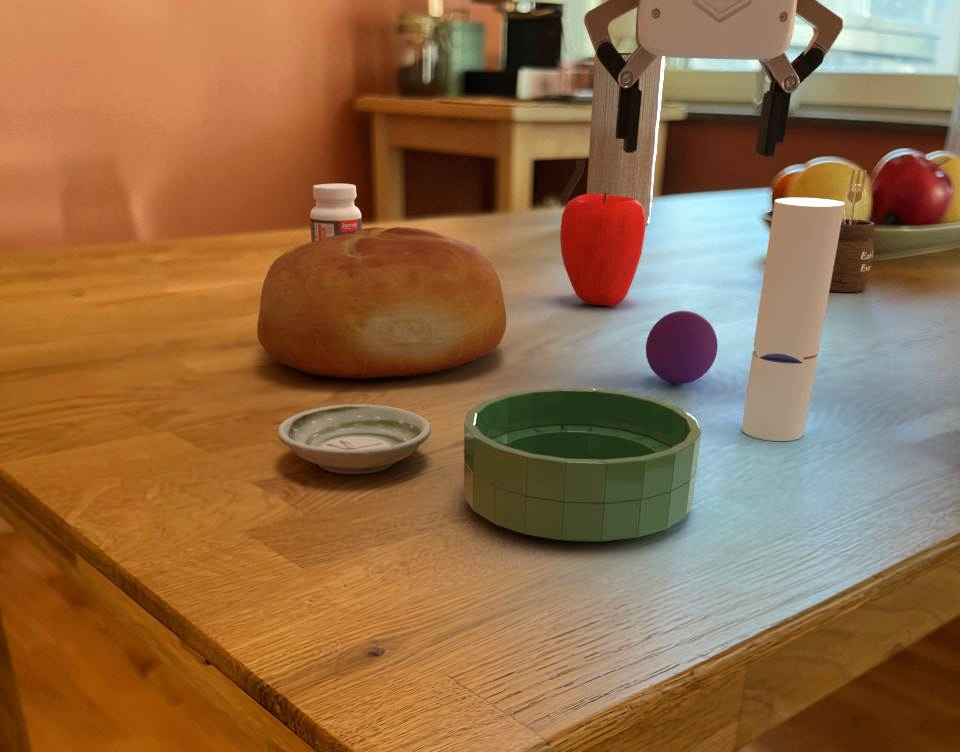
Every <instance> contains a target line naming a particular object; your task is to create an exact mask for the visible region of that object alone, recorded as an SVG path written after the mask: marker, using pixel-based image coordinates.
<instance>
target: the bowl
mask: <svg viewBox="0 0 960 752" xmlns="http://www.w3.org/2000/svg"><path fill="white" fill-rule="evenodd" d="M701 438H702V429H701V427H700V425H699V423H698V420H697V419H696V418H695V417H694V416H692V415H691V414H690V413H688V412H687V411H685V410H684V409H682V408H681V407H679V406H677V405H673V404H671V403H668V402H666V401H662V400H660V399H657V398H654V397H649V396H644V395H640V394H635V393H632V392H626V391H620V390H619V391H618V390H610V389H602V388H583V387H582V388H581V387H580V388H579V387H553V388H537V389H527V390H522V391H516V392H510V393H506V394H501V395H498V396H495V397H492V398H490V399H486V400H484V401H482V402H479V403H478V404H476V405H475V406H474V407H473V408H471V409H470V410H468V412H467V413H466V414H465V419H464V425H463V497H464V499H465V501H466V503H468V505H469V507H470V509H472V511H473V512H474V513H476V514H478V516H480V517H482V518H484V519H485V520H487V521H489V522H491V523H492V524H494V525H495V526H499V527H501V528H505V529H507V530H510V531H513V532H517V533H519V534H522V535H527V536H533V537H539V538H542V539H549V540H554V541H555V540H556V541H563V542H564V541H565V542H574V543H575V542H577V543H578V542H580V543H596V542H597V543H598V542H611V541H618V540H627V539H635V538H641V537H644V536H645V537H646V536H648V535H652V534H656V533H659V532H662V531H665V530H668V529H670V528H671V527H673V526H674V525H676V524H678V523H679V522H681V521H682V520H684V519H685V518H686V517H687V515H688V513H689V512H690V509H691V508H692V505H693V501H694V494H695V493H694V492H695V486H696V478H697V470H698V469H697V468H698V462H699V454H700V447H701Z"/></svg>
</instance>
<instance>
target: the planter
mask: <svg viewBox="0 0 960 752" xmlns="http://www.w3.org/2000/svg"><path fill="white" fill-rule="evenodd" d="M632 53H633V52H619V54H620V55H621V56H622V58H623V59H624V60H625V61H626V60H627V59H628V58H629V57H630V55H631V54H632ZM665 63H666V57H661V56H657V57H656V58H655V60H654V61H653V62H652V63H651V64H650V65H649V67H648V68H647V69H646V70H645V71H644V73H643V74H642V75H641V76H640V77H639V87H638V88H639V90H641V91H642V96H641V107H640V118H639V129H638V140H637V150H636V151H634V152H633V153H626V152H625V151H624V150H623V142H624V139H616V138H615V133H616V120H617V108H618V95H619V85H618V84H617V83H616V81H615V80H614V79H613V77H612V76H611V75H610V74H609V72H608V71H607V70H606V68H605V67H604V66H603V65H602V63H601V62H600V61H599V60H598V58H597V56H596V53H595V54H594V64H593V80H592V81H593V82H592V85H593V86H592V98H591V100H592V101H591V114H590V115H591V116H590V132H589V133H590V134H589V147H588V164H587V165H588V166H587V167H588V168H587V183H586V194H602V195H604V193H607V195H611V196H621V197H631V198H634V199H636V200H637V201H638V202H640V203H641V205H642V206H643V209H644V213H645V217H646V218H645V226H647V225H648V224H650V222H651V216H652V208H653V198H654V197H653V195H654V186H655V185H654V184H655V175H656V174H655V173H656V163H657V150H658V142H659V141H658V140H659V131H660V130H659V129H660V128H659V127H660V117H661V109H662V107H661V106H662V95H663V83H664V75H665Z"/></svg>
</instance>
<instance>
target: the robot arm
mask: <svg viewBox="0 0 960 752" xmlns="http://www.w3.org/2000/svg"><path fill="white" fill-rule="evenodd" d="M635 9H636V17H635V43H636V45H637V47H636V48H635V49H634V50H633V52H631V53H632V54H631V55H630V57H629V58H628V59H627V60H626V61H625V60H624V59H623V58H622V56H621V55H620V54H619V53H620V52H619V51H618V49H616V47H615V46H614V44H613V41H612V39H611V35H610V32H609V26H610V24H611V23H612V22H613V21H615V20H617V19H619V18H620V17H622V16H624V15H626V14H627V13H629V12H631V11H634V10H635ZM796 18H798V19H799V20H801V21H802V22H804V23H805V24H807V25H808V26H809V27H810V28H812V31H813V34H812V37H811V39H810V41H809V43H808V44H807V46H806V48H805V49H804V50H802V52H801V53H799V54H798V55H797V56H796V57H795V58H794V59H793V60H792V61H790V60H789V58H788V56H787V55H786V52H787V51H788V50H789V47H790V45H791V42H792V38H793V35H794V34H793V33H794V30H795V29H794V28H795V21H796ZM583 24H584V26H585V29H586V31H587V34H588V37H589V39H590V42H591V45H592V47H593V50H594V53H595V54H596V56H597V58H598V60H599V61H600V62H601V63H602V65H603V66H604V67H605V68H606V70H607V71H608V72H609V74H610V75H611V76H612V77H613V79H614V80H615V81H616V83H617V84H618V85H619V95H618V108H617V120H616V133H615V138H616V139H624V142H623V150H624V151H625V152H626V153H633V152H634V151H636V150H637V140H638V129H639V118H640V107H641V96H642V91H641V90H639V88H638V87H639V77H640V76H641V75H642V74H643V73H644V71H645V70H646V69H647V68H648V67H649V65H650V64H651V63H652V62H653V61H654V60H655V58H656V57H657V56H661V57H665V58H673V59H674V58H677V59H678V58H679V59H699V60H700V59H703V60H704V59H705V60H738V61H739V60H743V61H758V62H759V64H760V66H761V67H762V69H763V71H764V72H765V74H766V76H767V77H768V80H769V81H770V83H769V90H766V92H764V93H763V98H762V104H761V111H760V118H759V125H758V131H757V138H756V146H755V152H756V153H758V155H760V156H762V157H765V158H773V157H774V155H775V151H776V146H777V145H776V144H781V145H783V143H784V141H785V136H786V129H787V125H788V123H787V122H788V117H789V111H790V110H789V109H790V104H791V97H792V93H793V92H795V91H796V90H797V89H798V87H800V85H801V84H802V83H803V82H804V81H805V80H806V79H807V78H809V76H811V75H812V73H814V72H815V71H816V70H817V69H818V68H819V67H820V66H821V65H822V64H823V62H824V59H825V57H826V56H827V54H828V52H829V51H830V49H831V48H832V47H833V45H834V43H835V42H836V41H837V38H838V37H839V35H840V34H841V33H842V31H843V28H844V24H845V23H844V20H843V18H842V17H841V16H839V15H838V14H836V13H835V12H834V11H833V10H830V9H829V8H828V7H826V5H823V4H822V3H821V2H819V0H606V1H604V2H603V3H601V4H599V5H597V6H596V7H594V8H592V9H590V10H588V11H587V12H586V13H585V14H584V16H583Z"/></svg>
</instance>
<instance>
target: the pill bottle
mask: <svg viewBox="0 0 960 752" xmlns="http://www.w3.org/2000/svg"><path fill="white" fill-rule="evenodd" d="M312 193H313V195H312V196H313V198H314V200H315V206H314V207H312V208H311V210H310V213H309V225H310V238H311V242H315V241H318V240H321V239H325V238H328V237H331V236H336V235H341V234H350V233H352V234H353V233H355V232H357V231H359V230H362V229H363V222H362V221H363V220H362V219H363V218H362V212H361V211H360V209H359V207H358V206H356V205H355V200H356V198H357V196H358V195H357V186H356V185H355V184H351V183H322V184H315V185H313V186H312Z"/></svg>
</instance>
